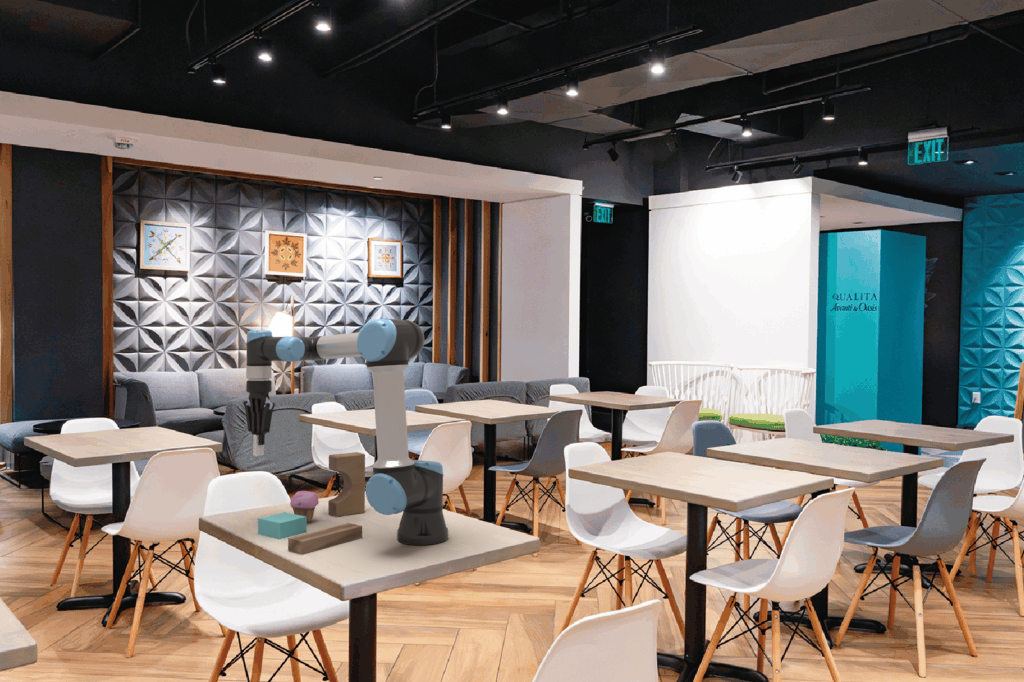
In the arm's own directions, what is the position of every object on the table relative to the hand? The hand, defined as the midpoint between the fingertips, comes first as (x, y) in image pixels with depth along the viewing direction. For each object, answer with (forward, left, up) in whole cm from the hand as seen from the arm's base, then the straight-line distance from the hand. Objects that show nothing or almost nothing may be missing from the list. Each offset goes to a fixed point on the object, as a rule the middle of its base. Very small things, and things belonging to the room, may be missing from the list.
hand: (258, 455), depth 236 cm
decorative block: (-8, -29, -23) cm, 38 cm away
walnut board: (-32, 0, -22) cm, 39 cm away
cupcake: (-6, -13, -23) cm, 27 cm away
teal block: (-12, 0, -23) cm, 26 cm away
